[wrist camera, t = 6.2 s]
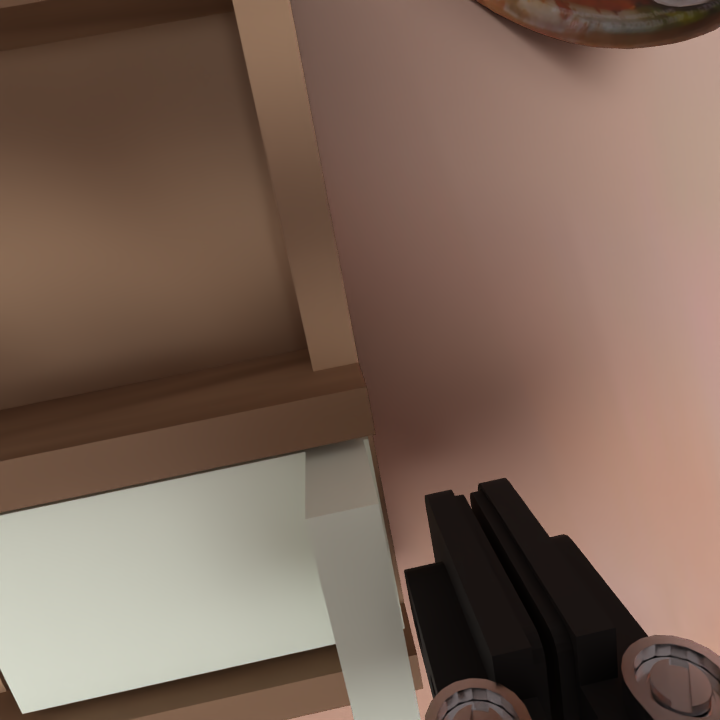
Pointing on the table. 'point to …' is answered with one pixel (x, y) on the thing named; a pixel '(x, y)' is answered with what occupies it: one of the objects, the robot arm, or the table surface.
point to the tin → (613, 20)
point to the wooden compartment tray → (168, 286)
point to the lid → (206, 581)
